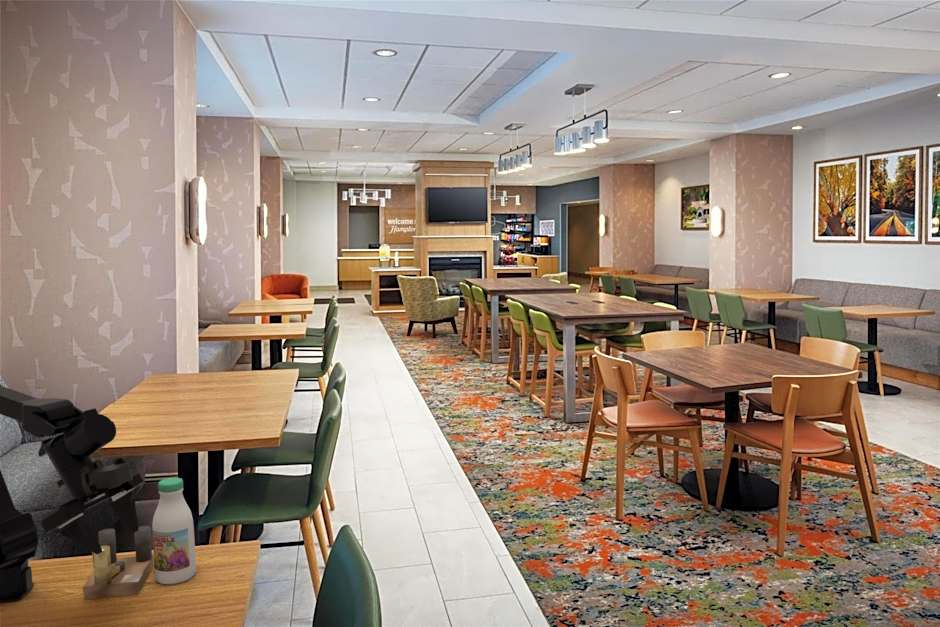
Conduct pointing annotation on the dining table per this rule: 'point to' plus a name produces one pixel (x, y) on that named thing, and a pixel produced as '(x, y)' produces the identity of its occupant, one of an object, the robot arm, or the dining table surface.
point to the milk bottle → (173, 535)
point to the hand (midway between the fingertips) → (118, 541)
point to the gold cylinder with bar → (103, 567)
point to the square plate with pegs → (124, 566)
